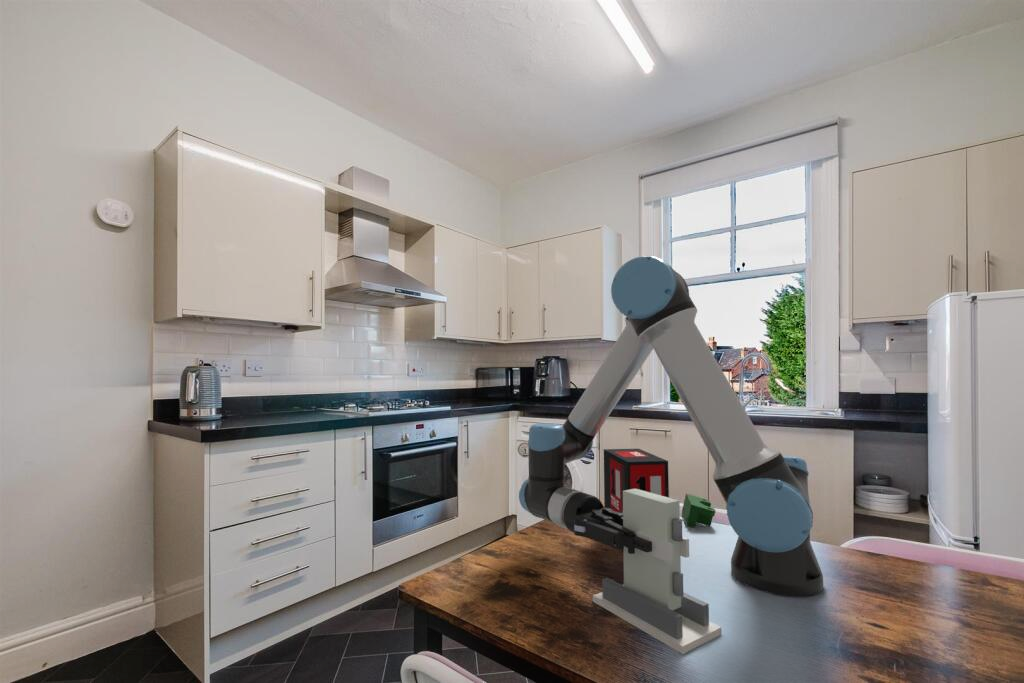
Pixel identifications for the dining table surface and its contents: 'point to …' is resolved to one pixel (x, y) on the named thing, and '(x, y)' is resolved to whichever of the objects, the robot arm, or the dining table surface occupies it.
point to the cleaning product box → (632, 475)
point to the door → (645, 569)
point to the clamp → (697, 511)
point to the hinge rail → (660, 616)
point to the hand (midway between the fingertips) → (679, 550)
